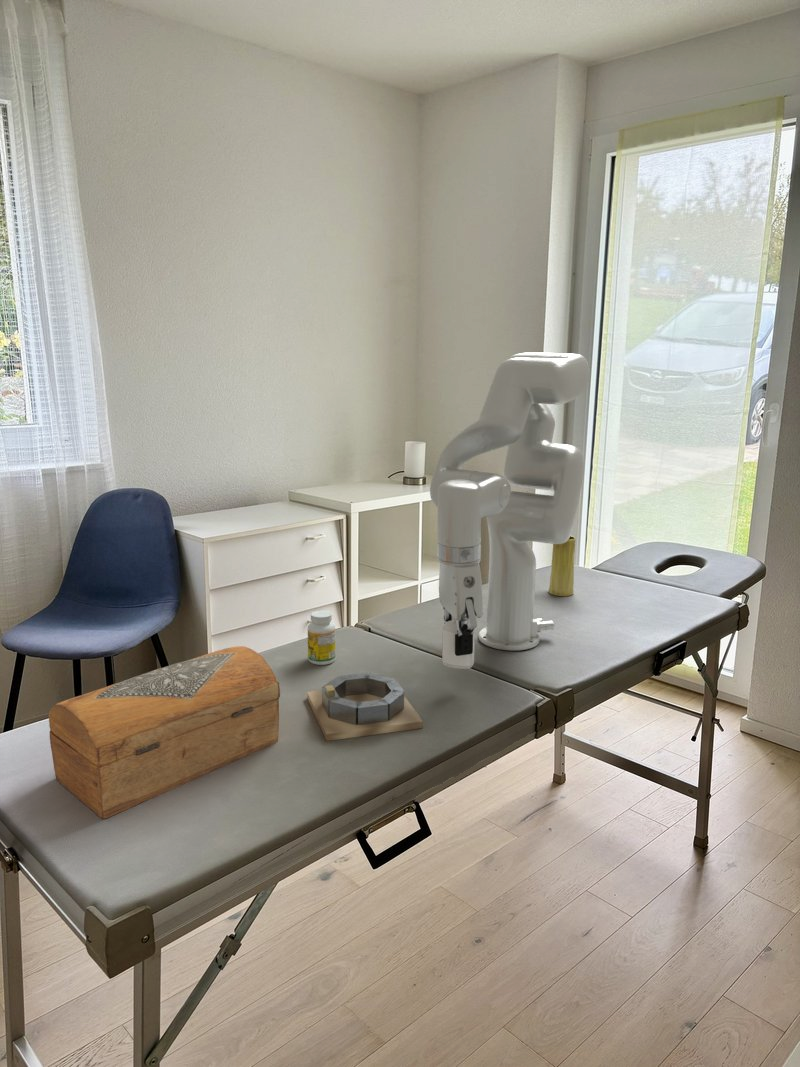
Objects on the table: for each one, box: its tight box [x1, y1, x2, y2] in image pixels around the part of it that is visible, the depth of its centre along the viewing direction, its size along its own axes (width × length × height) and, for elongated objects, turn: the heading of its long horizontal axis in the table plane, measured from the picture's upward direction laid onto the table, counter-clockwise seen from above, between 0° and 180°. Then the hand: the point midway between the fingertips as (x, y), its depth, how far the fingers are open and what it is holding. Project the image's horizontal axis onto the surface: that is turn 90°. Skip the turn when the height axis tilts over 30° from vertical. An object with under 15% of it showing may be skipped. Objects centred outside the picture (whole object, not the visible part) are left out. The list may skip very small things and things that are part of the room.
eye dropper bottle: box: [441, 614, 475, 670], centre depth 146 cm, size 4×6×12 cm
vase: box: [548, 535, 576, 597], centre depth 202 cm, size 6×6×14 cm
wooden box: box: [48, 645, 281, 819], centre depth 122 cm, size 30×16×14 cm, turn 136°
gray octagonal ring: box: [321, 672, 405, 725], centre depth 138 cm, size 13×13×4 cm
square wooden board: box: [306, 689, 424, 742], centre depth 139 cm, size 16×16×1 cm
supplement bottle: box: [307, 610, 337, 666], centre depth 159 cm, size 5×5×10 cm
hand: (458, 647), depth 147 cm, fingers closed on eye dropper bottle, 4 cm apart
